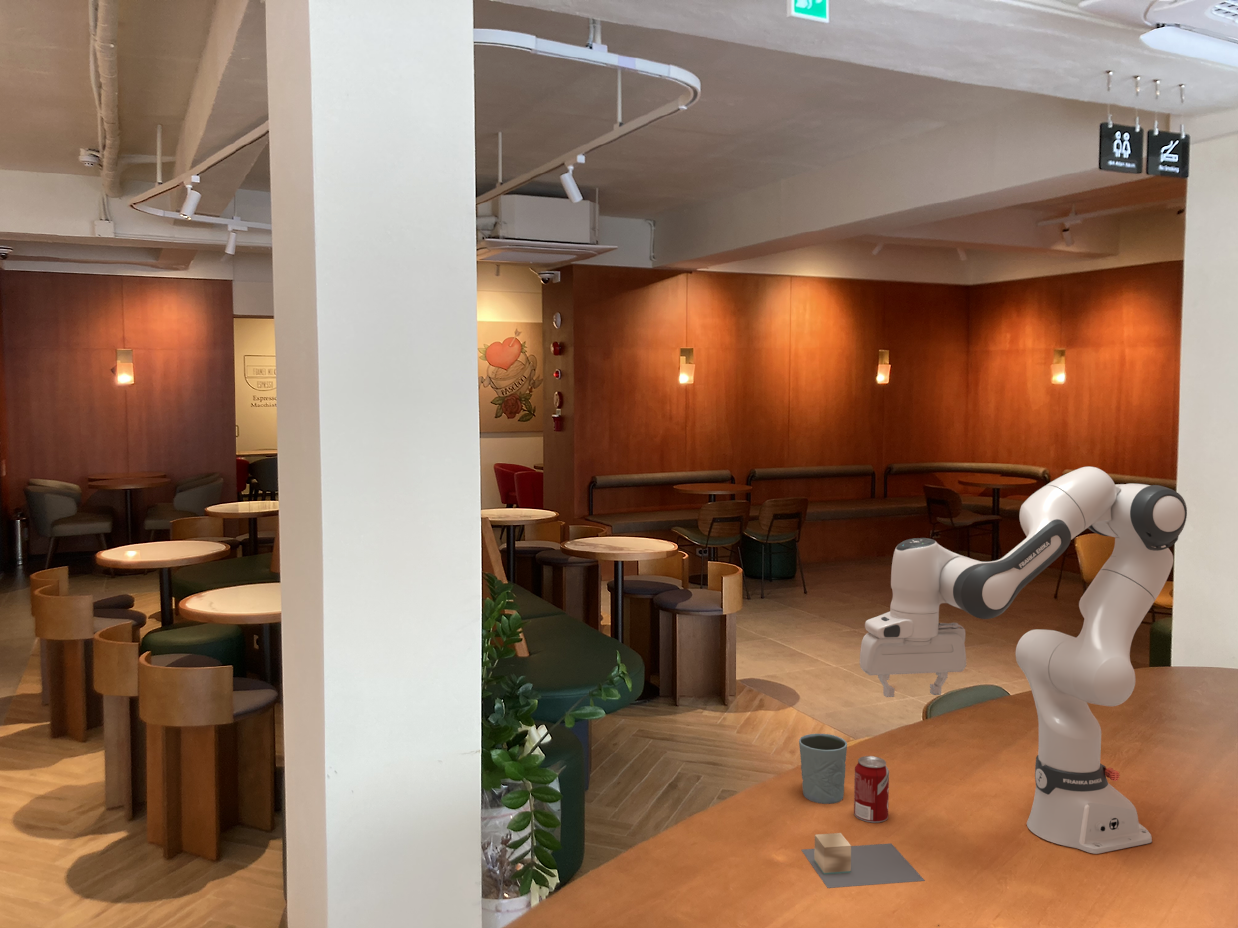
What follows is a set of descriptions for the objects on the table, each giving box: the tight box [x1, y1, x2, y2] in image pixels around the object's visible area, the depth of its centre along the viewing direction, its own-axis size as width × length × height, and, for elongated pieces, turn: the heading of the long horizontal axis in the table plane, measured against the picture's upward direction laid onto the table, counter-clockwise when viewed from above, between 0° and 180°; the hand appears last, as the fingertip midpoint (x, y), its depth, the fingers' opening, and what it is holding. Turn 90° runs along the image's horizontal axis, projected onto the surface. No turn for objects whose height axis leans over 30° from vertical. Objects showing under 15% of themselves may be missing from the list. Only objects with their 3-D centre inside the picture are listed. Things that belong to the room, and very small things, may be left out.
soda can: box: [853, 755, 890, 824], centre depth 192 cm, size 7×7×12 cm
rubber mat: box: [800, 842, 926, 889], centre depth 172 cm, size 18×14×1 cm
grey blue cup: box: [798, 733, 848, 805], centre depth 203 cm, size 10×10×12 cm
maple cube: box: [814, 832, 852, 874], centre depth 171 cm, size 5×5×5 cm
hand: (912, 695), depth 179 cm, fingers open, 8 cm apart
